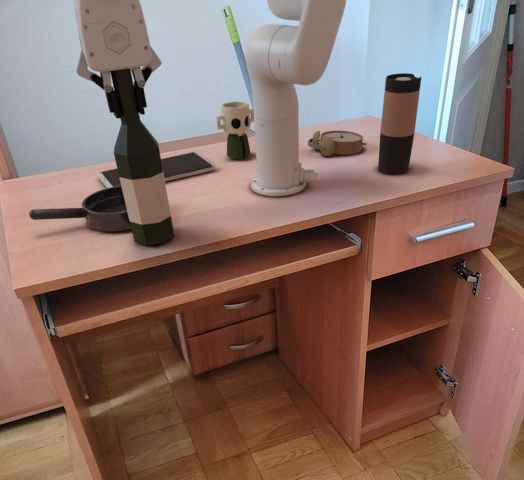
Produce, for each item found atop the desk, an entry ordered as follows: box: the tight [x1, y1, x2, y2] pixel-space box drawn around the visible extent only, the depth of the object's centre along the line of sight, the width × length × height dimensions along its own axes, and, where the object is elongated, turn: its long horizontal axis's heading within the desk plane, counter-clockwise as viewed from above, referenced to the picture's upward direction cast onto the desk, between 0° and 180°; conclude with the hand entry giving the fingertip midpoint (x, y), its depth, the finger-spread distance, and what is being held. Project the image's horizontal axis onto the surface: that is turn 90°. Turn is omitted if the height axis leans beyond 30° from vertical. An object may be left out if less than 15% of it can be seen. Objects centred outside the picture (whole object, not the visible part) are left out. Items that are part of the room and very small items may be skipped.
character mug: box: [216, 100, 254, 160], centre depth 129 cm, size 11×7×13 cm, turn 122°
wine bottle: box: [110, 68, 175, 246], centre depth 88 cm, size 8×8×30 cm
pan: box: [81, 186, 132, 233], centre depth 105 cm, size 15×15×4 cm
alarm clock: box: [307, 130, 368, 157], centre depth 132 cm, size 11×5×15 cm
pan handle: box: [28, 207, 85, 221], centre depth 101 cm, size 11×2×4 cm, turn 113°
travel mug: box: [377, 72, 422, 176], centre depth 114 cm, size 8×8×20 cm
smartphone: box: [97, 151, 216, 189], centre depth 125 cm, size 13×27×2 cm, turn 118°
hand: (129, 113), depth 84 cm, fingers closed on wine bottle, 3 cm apart
